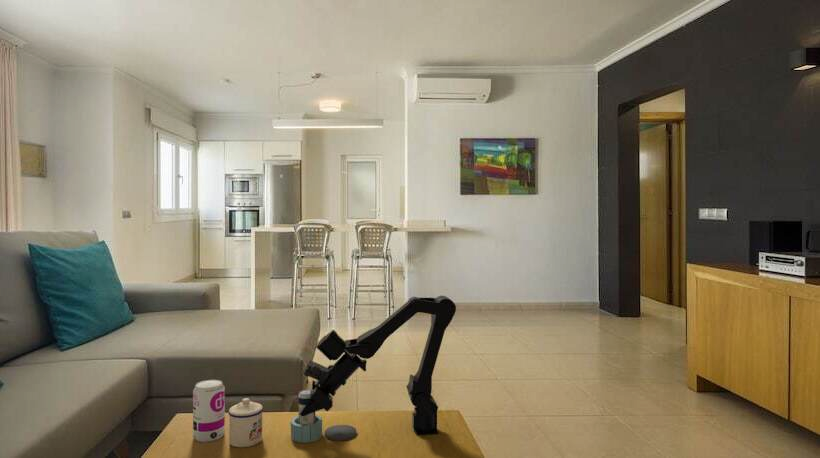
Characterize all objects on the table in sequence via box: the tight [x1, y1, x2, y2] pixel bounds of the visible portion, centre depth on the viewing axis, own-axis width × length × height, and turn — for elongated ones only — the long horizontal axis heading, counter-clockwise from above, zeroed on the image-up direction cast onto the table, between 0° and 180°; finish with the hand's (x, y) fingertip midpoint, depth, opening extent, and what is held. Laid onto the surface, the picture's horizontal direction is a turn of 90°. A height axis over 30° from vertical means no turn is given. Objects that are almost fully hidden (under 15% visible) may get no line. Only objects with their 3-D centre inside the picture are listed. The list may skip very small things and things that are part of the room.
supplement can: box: [192, 379, 226, 443], centre depth 143 cm, size 8×8×15 cm
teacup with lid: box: [228, 397, 264, 448], centre depth 142 cm, size 12×9×12 cm
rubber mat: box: [324, 424, 357, 442], centre depth 145 cm, size 9×9×1 cm
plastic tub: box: [290, 414, 323, 444], centre depth 143 cm, size 9×9×5 cm
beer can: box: [298, 389, 316, 425], centre depth 143 cm, size 5×5×12 cm
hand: (301, 411), depth 143 cm, fingers closed on beer can, 5 cm apart
